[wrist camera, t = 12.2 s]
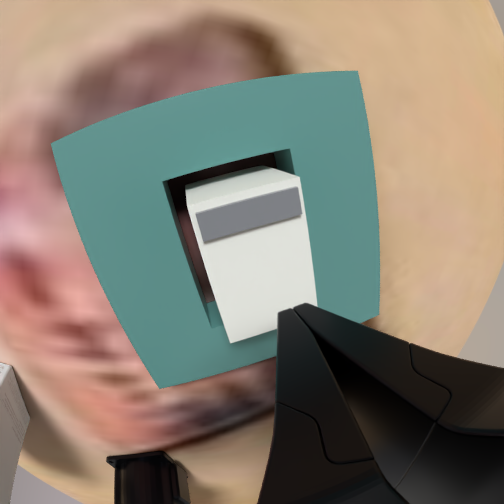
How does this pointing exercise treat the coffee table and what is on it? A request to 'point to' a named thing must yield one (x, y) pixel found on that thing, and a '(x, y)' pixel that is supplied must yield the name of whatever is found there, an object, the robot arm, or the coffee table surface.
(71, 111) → the coffee table surface
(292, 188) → the plug
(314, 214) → the socket board
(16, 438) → the supplement box
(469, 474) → the robot arm
